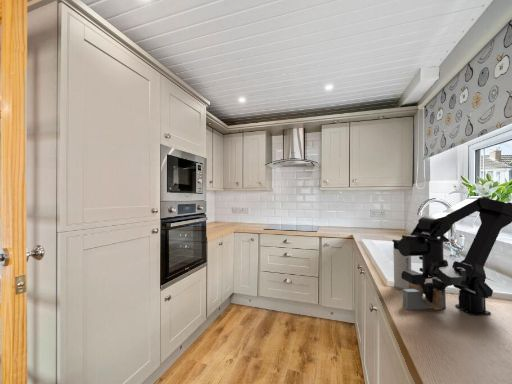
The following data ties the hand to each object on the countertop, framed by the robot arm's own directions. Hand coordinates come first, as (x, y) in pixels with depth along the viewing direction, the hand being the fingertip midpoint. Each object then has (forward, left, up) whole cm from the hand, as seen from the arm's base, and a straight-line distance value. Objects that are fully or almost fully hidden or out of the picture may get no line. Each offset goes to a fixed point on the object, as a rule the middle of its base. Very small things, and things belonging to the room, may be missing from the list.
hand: (433, 301), depth 77 cm
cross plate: (0, -4, -2) cm, 4 cm away
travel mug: (-4, -20, -4) cm, 21 cm away
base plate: (0, -4, -4) cm, 5 cm away
